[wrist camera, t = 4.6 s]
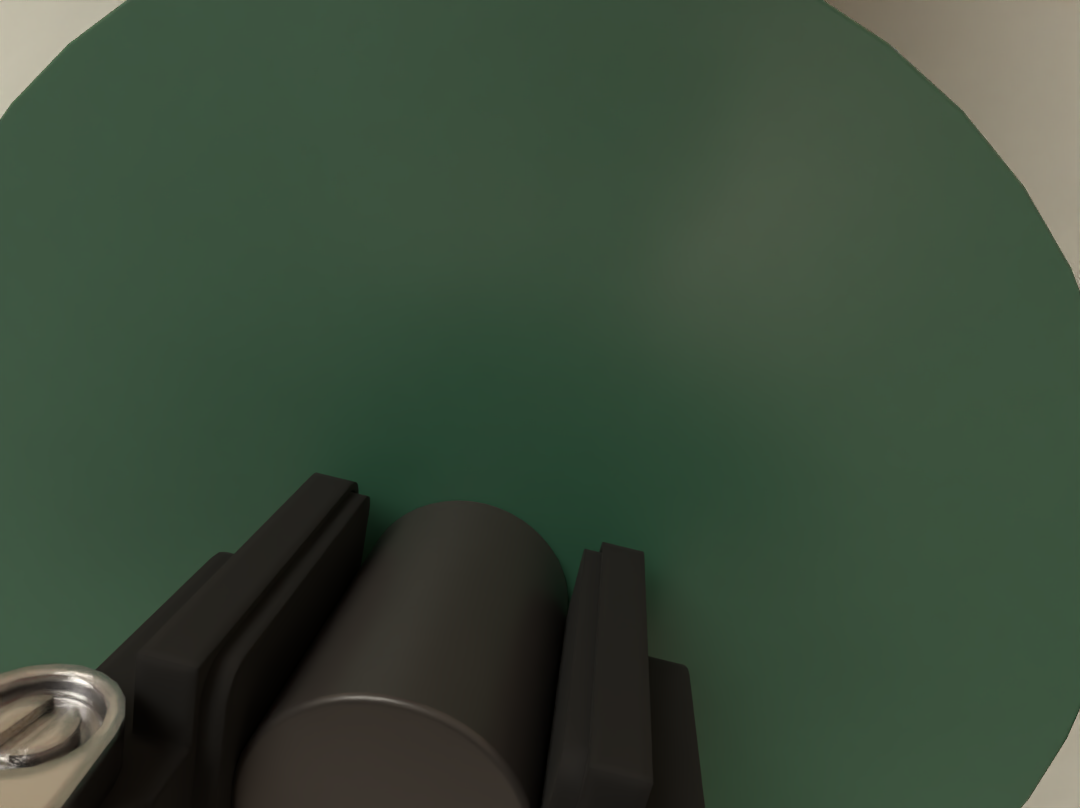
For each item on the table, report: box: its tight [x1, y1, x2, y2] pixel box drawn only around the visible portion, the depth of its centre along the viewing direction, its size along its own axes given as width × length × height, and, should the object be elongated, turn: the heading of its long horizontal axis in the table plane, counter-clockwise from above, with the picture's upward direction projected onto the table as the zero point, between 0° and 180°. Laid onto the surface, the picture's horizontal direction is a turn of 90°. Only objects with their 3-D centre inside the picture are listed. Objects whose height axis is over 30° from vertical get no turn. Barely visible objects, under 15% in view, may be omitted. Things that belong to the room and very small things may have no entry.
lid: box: [0, 0, 1080, 808], centre depth 9 cm, size 17×17×5 cm
